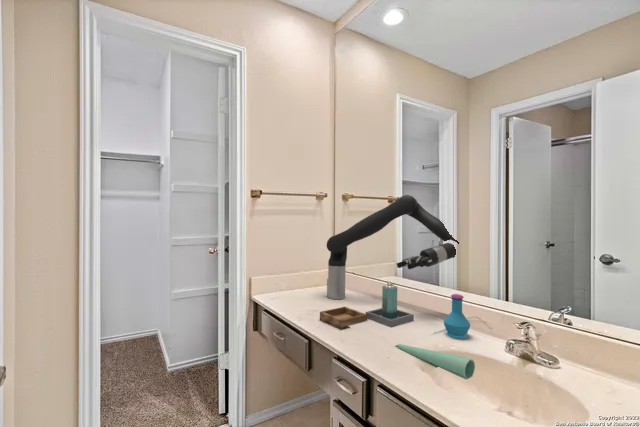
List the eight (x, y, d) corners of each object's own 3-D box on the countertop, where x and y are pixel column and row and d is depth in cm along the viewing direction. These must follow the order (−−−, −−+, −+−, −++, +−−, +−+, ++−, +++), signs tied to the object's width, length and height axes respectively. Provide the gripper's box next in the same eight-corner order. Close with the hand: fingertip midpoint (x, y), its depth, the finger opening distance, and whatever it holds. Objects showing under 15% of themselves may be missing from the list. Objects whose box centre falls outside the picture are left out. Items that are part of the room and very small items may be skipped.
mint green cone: (400, 329, 115) (475, 357, 94) (400, 345, 115) (475, 376, 94) (390, 332, 112) (464, 362, 90) (390, 348, 112) (464, 382, 90)
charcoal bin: (365, 320, 141) (365, 311, 141) (387, 314, 149) (387, 306, 149) (391, 329, 130) (391, 320, 130) (413, 322, 138) (413, 314, 138)
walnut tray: (319, 320, 140) (319, 311, 140) (344, 314, 148) (344, 306, 148) (341, 329, 129) (341, 320, 129) (367, 322, 137) (367, 314, 137)
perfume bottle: (465, 331, 129) (465, 292, 129) (473, 340, 120) (474, 298, 120) (440, 330, 130) (441, 291, 130) (447, 339, 121) (447, 297, 121)
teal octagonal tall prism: (379, 318, 140) (379, 281, 140) (388, 316, 144) (389, 280, 144) (390, 322, 135) (390, 284, 135) (399, 319, 139) (400, 282, 139)
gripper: (421, 247, 154) (391, 257, 149) (441, 247, 140) (409, 258, 135) (425, 263, 154) (396, 273, 149) (446, 264, 140) (414, 276, 135)
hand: (402, 266), depth 142 cm, fingers open, 8 cm apart
